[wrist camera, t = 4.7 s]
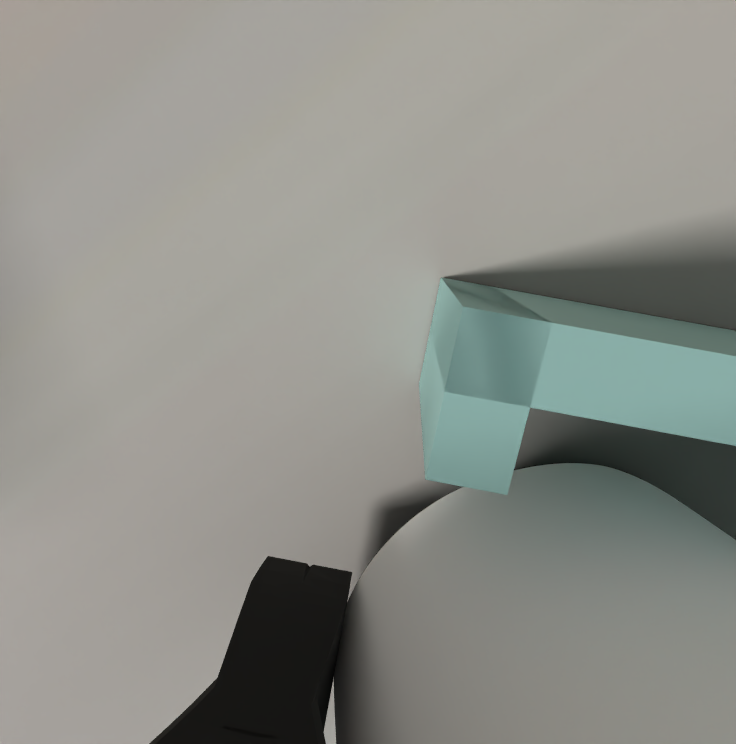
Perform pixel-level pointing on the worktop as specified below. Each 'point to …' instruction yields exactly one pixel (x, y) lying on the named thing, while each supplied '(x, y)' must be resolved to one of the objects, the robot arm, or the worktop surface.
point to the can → (544, 620)
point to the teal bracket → (560, 376)
